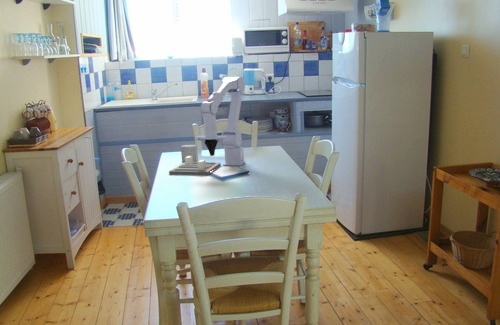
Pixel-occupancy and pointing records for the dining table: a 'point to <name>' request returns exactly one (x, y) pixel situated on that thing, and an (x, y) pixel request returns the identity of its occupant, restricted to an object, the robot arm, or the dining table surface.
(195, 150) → the medicine box
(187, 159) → the block
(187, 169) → the breaker panel
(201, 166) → the block
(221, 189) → the dining table surface
